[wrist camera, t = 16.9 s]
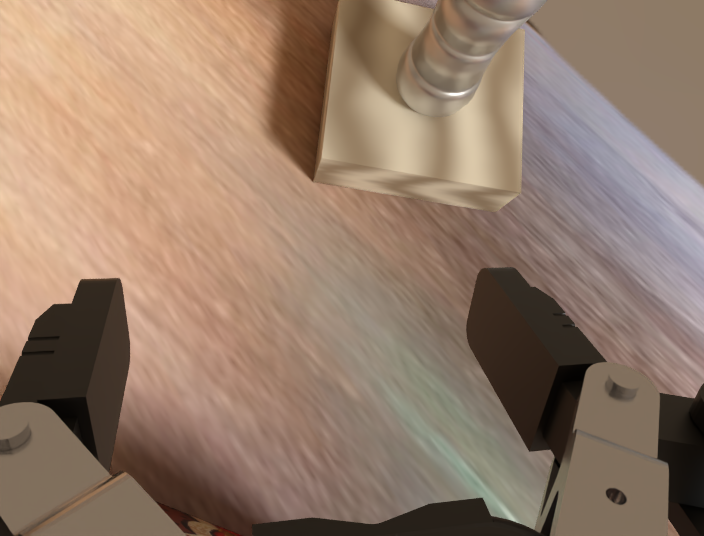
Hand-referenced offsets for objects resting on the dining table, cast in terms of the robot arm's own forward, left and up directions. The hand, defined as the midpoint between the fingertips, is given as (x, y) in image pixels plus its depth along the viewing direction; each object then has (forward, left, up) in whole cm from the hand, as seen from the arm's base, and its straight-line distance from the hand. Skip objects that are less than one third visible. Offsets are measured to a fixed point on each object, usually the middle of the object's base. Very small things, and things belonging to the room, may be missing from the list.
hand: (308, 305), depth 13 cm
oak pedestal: (+11, +26, -35) cm, 45 cm away
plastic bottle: (+11, +25, -30) cm, 41 cm away
